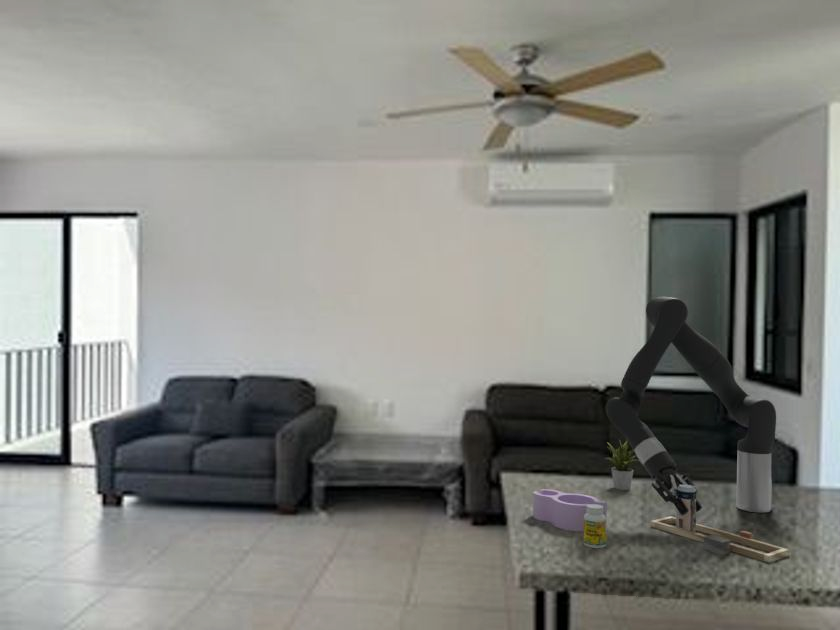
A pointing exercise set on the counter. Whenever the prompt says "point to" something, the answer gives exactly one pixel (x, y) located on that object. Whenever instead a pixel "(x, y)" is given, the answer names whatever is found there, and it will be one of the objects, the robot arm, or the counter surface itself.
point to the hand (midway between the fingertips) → (692, 511)
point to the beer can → (689, 499)
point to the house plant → (622, 467)
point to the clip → (563, 508)
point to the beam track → (724, 540)
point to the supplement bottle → (594, 527)
